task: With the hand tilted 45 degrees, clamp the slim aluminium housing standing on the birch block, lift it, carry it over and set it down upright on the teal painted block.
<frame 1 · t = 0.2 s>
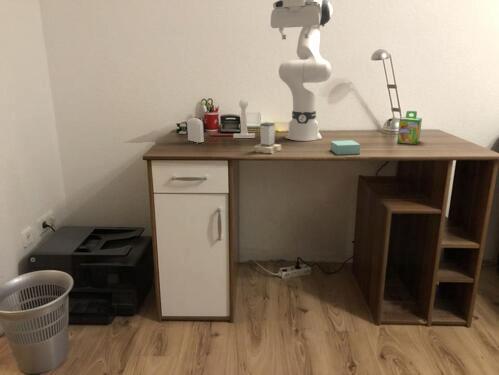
hand: (295, 38, 177), 48 cm above the table, tool pointing down, fingers open, 8 cm apart
stand B: (344, 151, 188), on the table
housing: (267, 145, 192), point 2 cm above the table, touching stand A
stand A: (267, 150, 193), on the table
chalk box: (408, 142, 206), on the table
joystick: (244, 138, 225), on the table
grey arched block: (196, 142, 216), on the table
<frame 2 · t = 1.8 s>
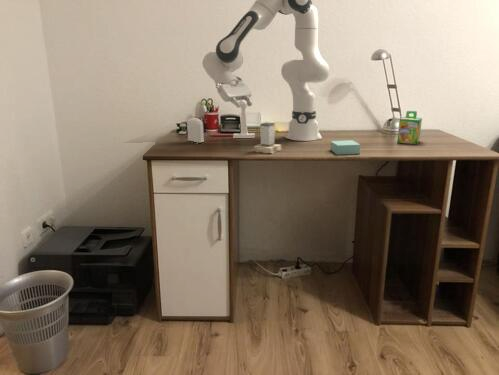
hand: (245, 106, 193), 20 cm above the table, tool tilted 45°, fingers open, 8 cm apart
nothing on the table moved.
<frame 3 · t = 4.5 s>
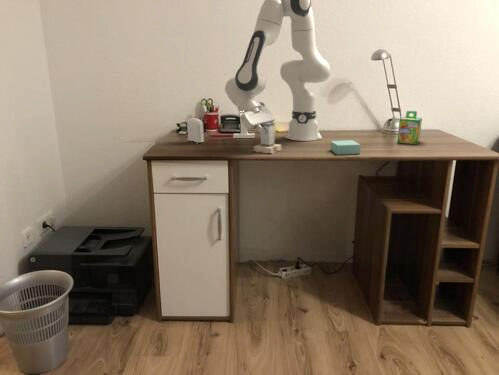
hand: (268, 132, 190), 8 cm above the table, tool tilted 45°, fingers closed on housing, 4 cm apart
housing: (267, 145, 192), point 2 cm above the table, touching gripper, stand A
everything else where it was.
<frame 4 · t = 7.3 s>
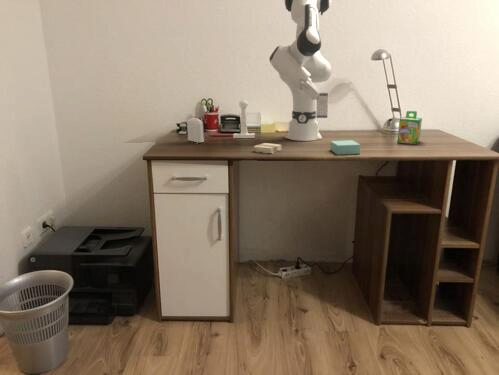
hand: (323, 103, 180), 22 cm above the table, tool tilted 45°, fingers closed on housing, 4 cm apart
housing: (321, 117, 181), point 16 cm above the table, touching gripper
everything else where it was.
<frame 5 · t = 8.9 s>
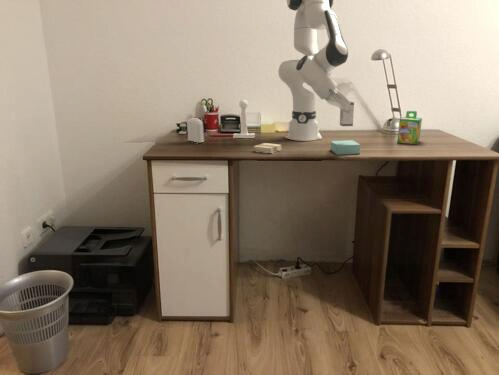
hand: (348, 111, 183), 17 cm above the table, tool tilted 45°, fingers closed on housing, 4 cm apart
housing: (346, 125, 185), point 12 cm above the table, touching gripper
everything else where it was.
when the fingers open (11 cm above the table, at t = 10.4 s): housing stays where it is, resting on stand B.
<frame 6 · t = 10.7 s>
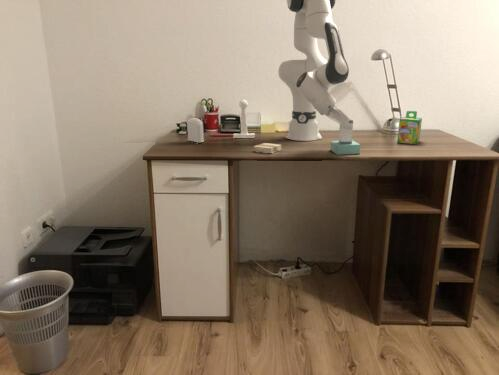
hand: (347, 127, 185), 11 cm above the table, tool tilted 45°, fingers open, 8 cm apart
housing: (345, 142, 187), point 4 cm above the table, touching stand B
everything else where it was.
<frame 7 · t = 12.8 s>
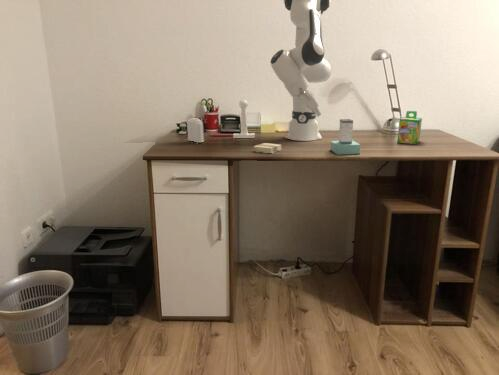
hand: (316, 113, 182), 17 cm above the table, tool tilted 35°, fingers open, 8 cm apart
nothing on the table moved.
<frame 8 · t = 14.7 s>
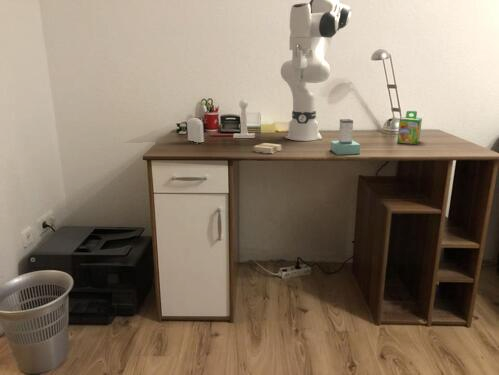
hand: (299, 79, 180), 31 cm above the table, tool pointing down, fingers open, 8 cm apart
nothing on the table moved.
at the end: housing inside the target area on the stand B (0.1 cm from its centre), point 4.0 cm above the stand B's base; housing tilted 0°; the gripper is holding nothing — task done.
